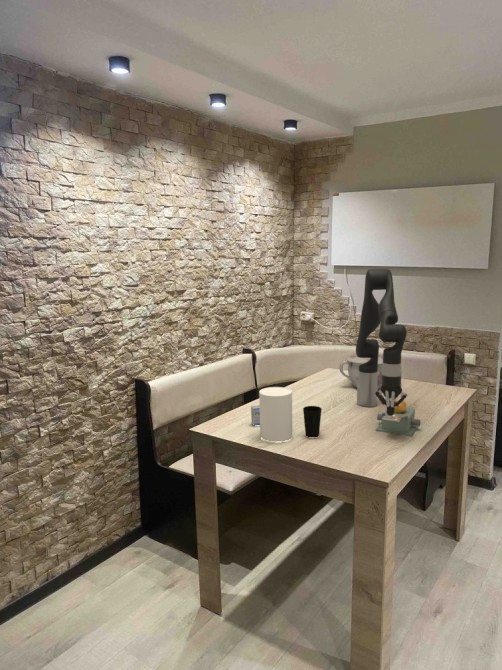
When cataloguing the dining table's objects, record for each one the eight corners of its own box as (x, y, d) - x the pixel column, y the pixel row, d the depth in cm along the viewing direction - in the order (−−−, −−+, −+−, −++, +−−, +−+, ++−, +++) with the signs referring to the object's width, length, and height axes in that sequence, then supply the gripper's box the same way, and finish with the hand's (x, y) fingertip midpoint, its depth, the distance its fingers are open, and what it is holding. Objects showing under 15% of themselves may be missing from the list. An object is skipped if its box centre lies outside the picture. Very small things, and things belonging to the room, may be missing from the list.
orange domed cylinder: (389, 425, 217) (390, 403, 215) (392, 421, 222) (393, 400, 220) (404, 428, 214) (404, 405, 212) (407, 423, 219) (407, 401, 217)
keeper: (386, 416, 212) (381, 419, 205) (386, 413, 212) (382, 417, 205) (403, 418, 209) (399, 422, 202) (403, 416, 208) (399, 419, 202)
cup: (309, 431, 215) (309, 404, 213) (324, 435, 210) (324, 407, 208) (299, 436, 209) (299, 409, 207) (315, 440, 204) (315, 412, 202)
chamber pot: (400, 384, 286) (401, 348, 283) (387, 396, 263) (388, 358, 260) (353, 378, 301) (353, 345, 297) (337, 390, 277) (337, 353, 274)
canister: (286, 445, 200) (286, 397, 197) (255, 441, 205) (254, 394, 202) (296, 433, 213) (296, 388, 209) (266, 430, 218) (265, 385, 214)
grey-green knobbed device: (372, 430, 214) (372, 412, 213) (382, 417, 230) (383, 401, 229) (415, 437, 206) (416, 418, 205) (423, 423, 221) (424, 406, 220)
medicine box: (253, 427, 222) (253, 408, 220) (251, 424, 226) (250, 405, 224) (270, 425, 224) (270, 406, 222) (267, 422, 228) (267, 403, 227)
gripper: (372, 374, 199) (371, 415, 202) (406, 377, 193) (405, 420, 196) (377, 370, 206) (376, 410, 209) (410, 373, 200) (409, 414, 202)
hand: (390, 415), depth 202 cm, fingers closed
